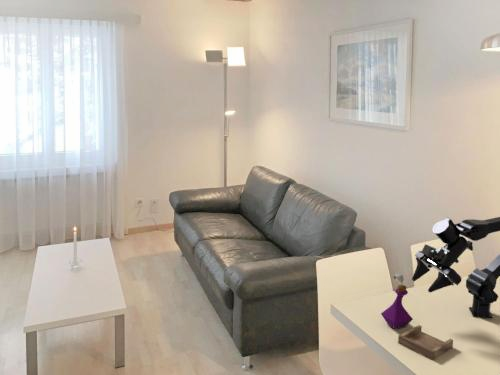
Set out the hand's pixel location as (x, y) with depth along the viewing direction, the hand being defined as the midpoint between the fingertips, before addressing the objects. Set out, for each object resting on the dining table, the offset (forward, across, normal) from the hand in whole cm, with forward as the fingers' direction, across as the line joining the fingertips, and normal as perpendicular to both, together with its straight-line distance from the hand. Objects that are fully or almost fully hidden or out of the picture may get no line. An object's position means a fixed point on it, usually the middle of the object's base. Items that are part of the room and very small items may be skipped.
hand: (420, 285), depth 163 cm
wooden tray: (+14, +13, +5) cm, 20 cm away
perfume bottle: (+15, 0, +4) cm, 16 cm away
